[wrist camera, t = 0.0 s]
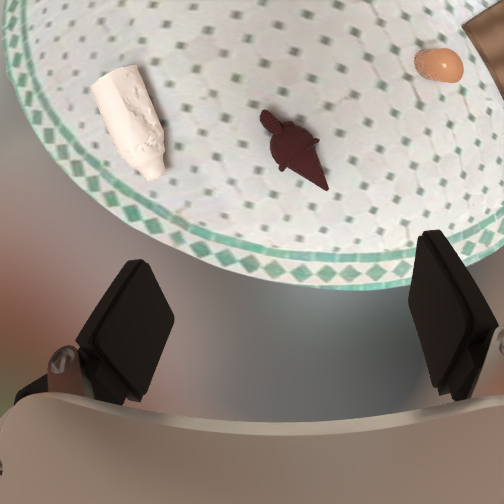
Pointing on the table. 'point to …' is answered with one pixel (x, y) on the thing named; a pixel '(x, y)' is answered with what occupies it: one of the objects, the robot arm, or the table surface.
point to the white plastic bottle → (131, 120)
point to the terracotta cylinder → (439, 65)
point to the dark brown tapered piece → (294, 149)
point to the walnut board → (489, 40)
